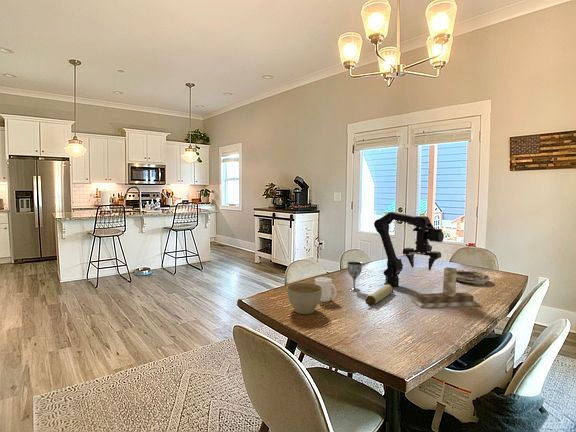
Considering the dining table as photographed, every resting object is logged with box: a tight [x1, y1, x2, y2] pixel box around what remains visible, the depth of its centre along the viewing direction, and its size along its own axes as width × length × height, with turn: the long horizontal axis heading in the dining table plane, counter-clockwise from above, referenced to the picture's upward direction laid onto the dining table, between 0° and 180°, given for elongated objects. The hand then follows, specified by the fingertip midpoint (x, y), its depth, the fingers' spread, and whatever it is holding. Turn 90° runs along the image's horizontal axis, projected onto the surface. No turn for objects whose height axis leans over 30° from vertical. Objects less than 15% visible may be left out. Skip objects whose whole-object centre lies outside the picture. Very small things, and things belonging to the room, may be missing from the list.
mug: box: [314, 276, 338, 303], centre depth 169 cm, size 12×8×10 cm
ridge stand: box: [410, 292, 481, 308], centre depth 165 cm, size 30×9×4 cm, turn 96°
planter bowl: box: [286, 282, 322, 315], centre depth 155 cm, size 16×16×11 cm
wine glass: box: [346, 261, 363, 293], centre depth 185 cm, size 8×8×15 cm
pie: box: [456, 269, 490, 286], centre depth 204 cm, size 28×27×5 cm
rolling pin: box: [365, 284, 394, 307], centre depth 172 cm, size 32×6×5 cm, turn 142°
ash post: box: [442, 266, 458, 297], centre depth 164 cm, size 4×4×13 cm
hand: (420, 268), depth 181 cm, fingers open, 9 cm apart
